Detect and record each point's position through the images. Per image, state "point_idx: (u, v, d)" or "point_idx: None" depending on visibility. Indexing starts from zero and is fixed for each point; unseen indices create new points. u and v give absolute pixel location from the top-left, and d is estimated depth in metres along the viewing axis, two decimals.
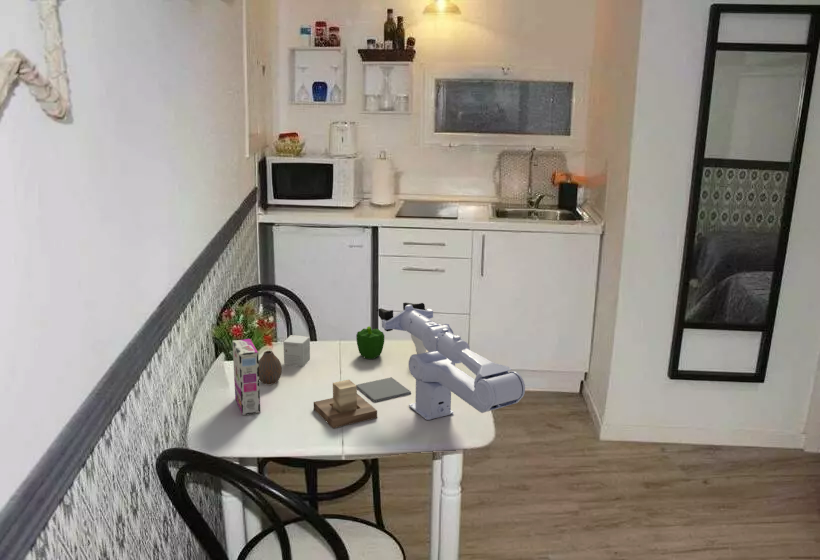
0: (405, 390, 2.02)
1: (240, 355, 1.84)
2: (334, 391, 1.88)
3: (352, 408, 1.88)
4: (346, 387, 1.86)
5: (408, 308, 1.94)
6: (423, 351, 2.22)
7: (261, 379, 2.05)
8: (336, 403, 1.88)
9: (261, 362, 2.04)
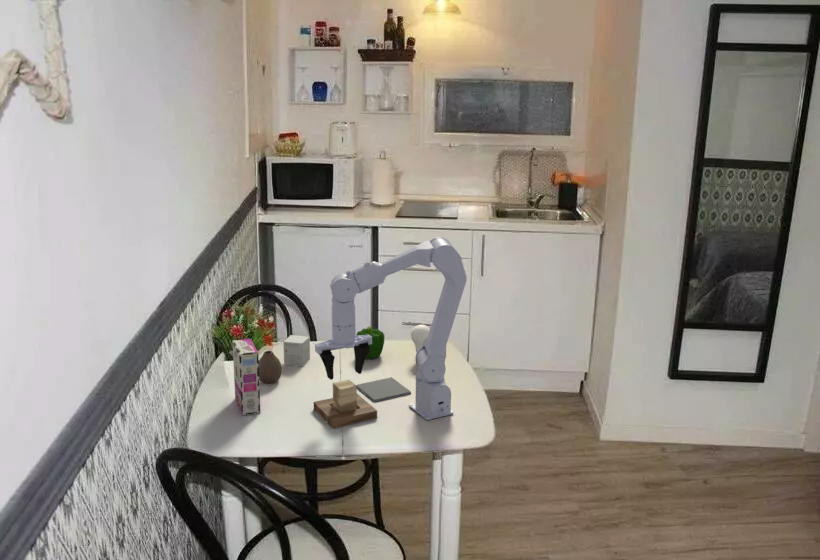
0: (405, 390, 2.02)
1: (240, 355, 1.84)
2: (334, 391, 1.88)
3: (352, 408, 1.88)
4: (346, 387, 1.86)
5: (350, 344, 1.82)
6: None
7: (261, 379, 2.05)
8: (336, 403, 1.88)
9: (261, 362, 2.04)
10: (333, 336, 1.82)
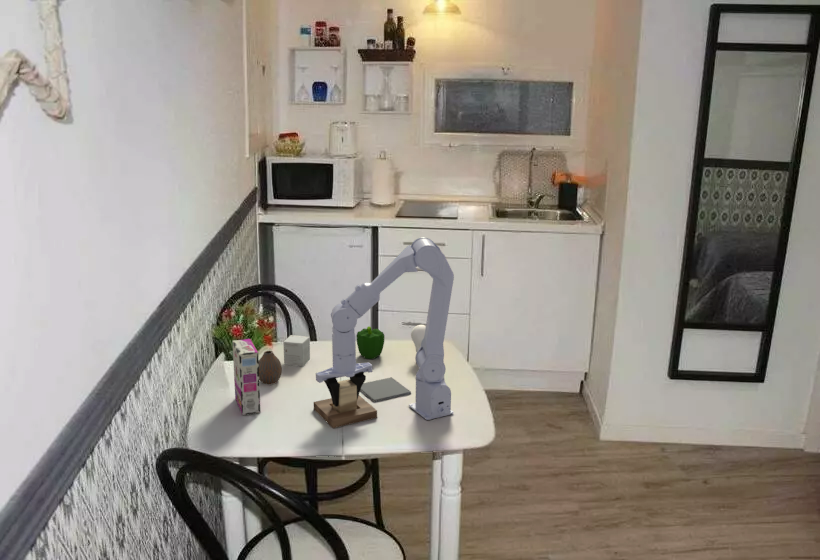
0: (405, 390, 2.02)
1: (240, 355, 1.84)
2: None
3: (352, 408, 1.88)
4: (346, 387, 1.86)
5: (351, 373, 1.84)
6: None
7: (261, 379, 2.05)
8: None
9: (262, 362, 2.04)
10: (334, 365, 1.84)
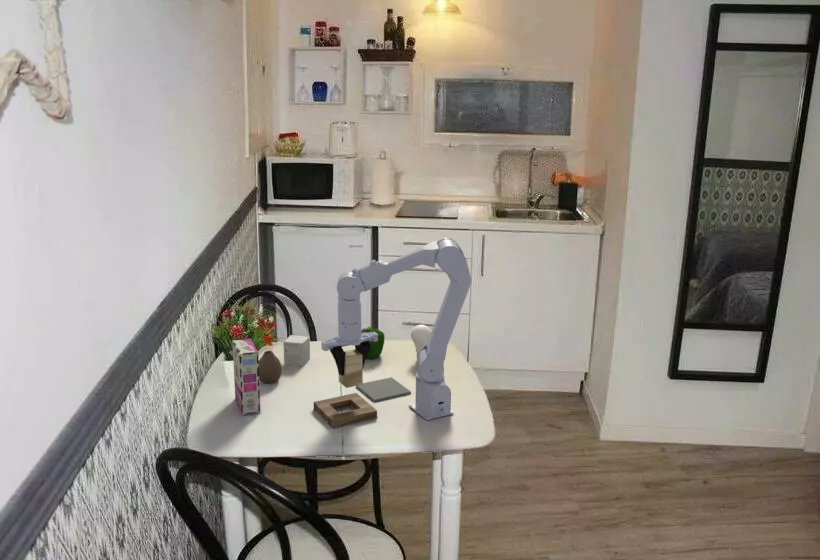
0: (405, 390, 2.02)
1: (240, 355, 1.84)
2: None
3: (358, 377, 1.88)
4: (352, 356, 1.86)
5: (356, 341, 1.84)
6: None
7: (261, 379, 2.05)
8: None
9: (262, 362, 2.04)
10: (339, 333, 1.84)
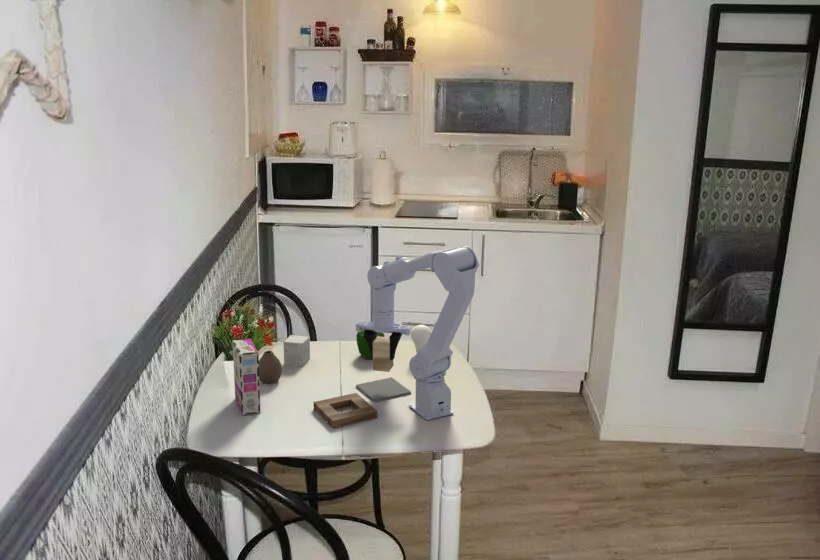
0: (405, 390, 2.02)
1: (240, 355, 1.84)
2: None
3: (384, 363, 1.99)
4: (379, 342, 1.98)
5: (380, 329, 1.95)
6: None
7: (261, 379, 2.05)
8: None
9: (261, 362, 2.04)
10: None
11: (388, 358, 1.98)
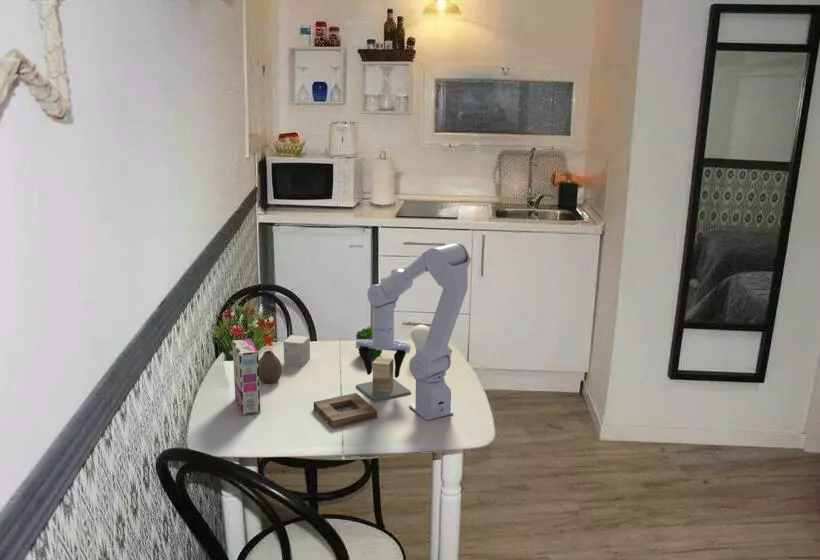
0: (405, 390, 2.02)
1: (240, 355, 1.84)
2: None
3: (384, 384, 2.00)
4: (379, 363, 1.99)
5: (380, 347, 1.97)
6: None
7: (261, 379, 2.05)
8: None
9: (262, 362, 2.04)
10: None
11: (388, 379, 2.00)
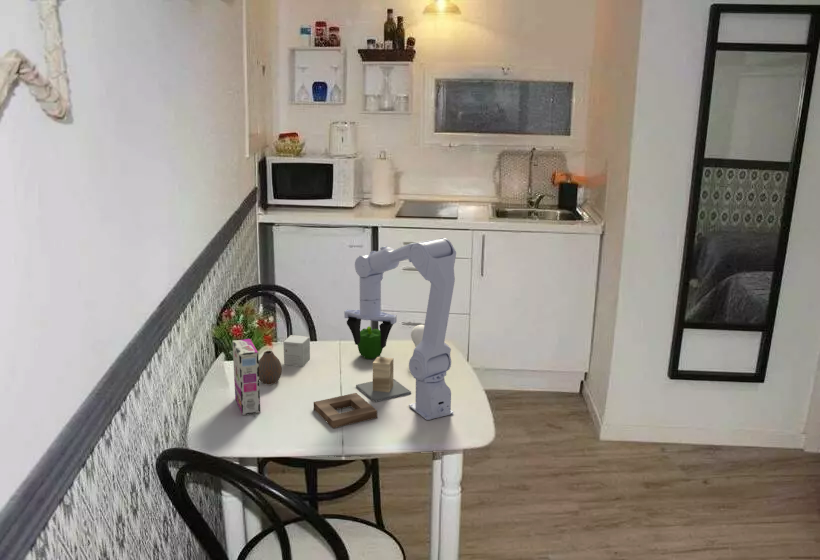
0: (405, 390, 2.02)
1: (240, 355, 1.84)
2: None
3: (384, 384, 2.00)
4: (379, 363, 1.99)
5: (366, 317, 2.01)
6: None
7: (261, 379, 2.05)
8: None
9: (261, 362, 2.04)
10: None
11: (388, 379, 2.00)
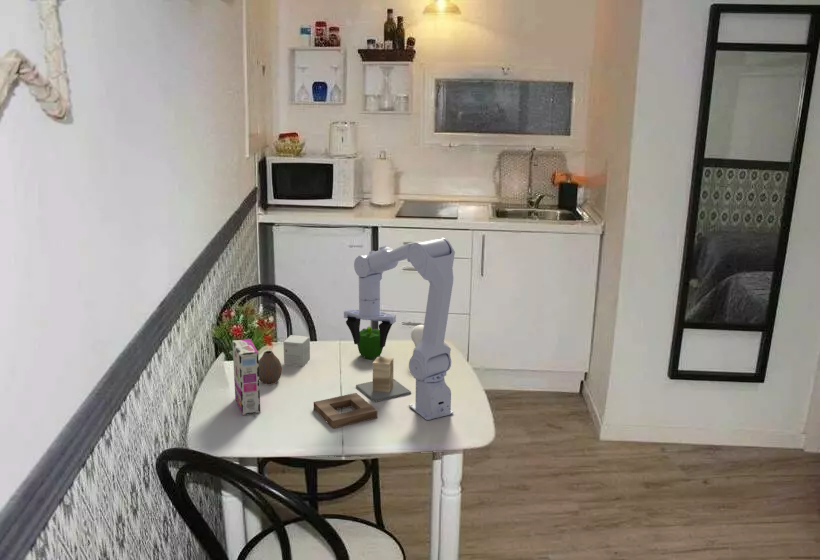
0: (405, 390, 2.02)
1: (240, 355, 1.84)
2: None
3: (384, 384, 2.00)
4: (379, 363, 1.99)
5: (366, 316, 2.02)
6: None
7: (261, 379, 2.05)
8: None
9: (261, 362, 2.04)
10: None
11: (388, 379, 2.00)
